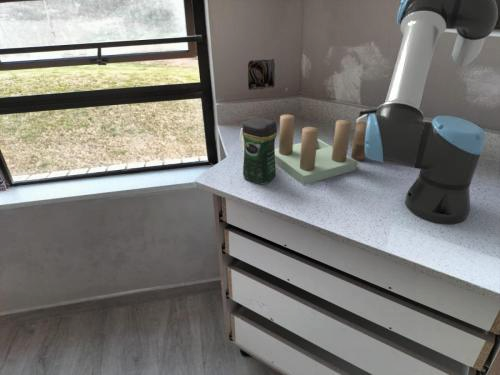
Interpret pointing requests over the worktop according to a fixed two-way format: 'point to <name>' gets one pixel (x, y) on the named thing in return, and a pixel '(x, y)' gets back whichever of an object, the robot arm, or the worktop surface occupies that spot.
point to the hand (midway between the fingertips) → (375, 127)
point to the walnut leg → (359, 142)
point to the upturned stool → (313, 152)
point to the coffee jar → (259, 149)
